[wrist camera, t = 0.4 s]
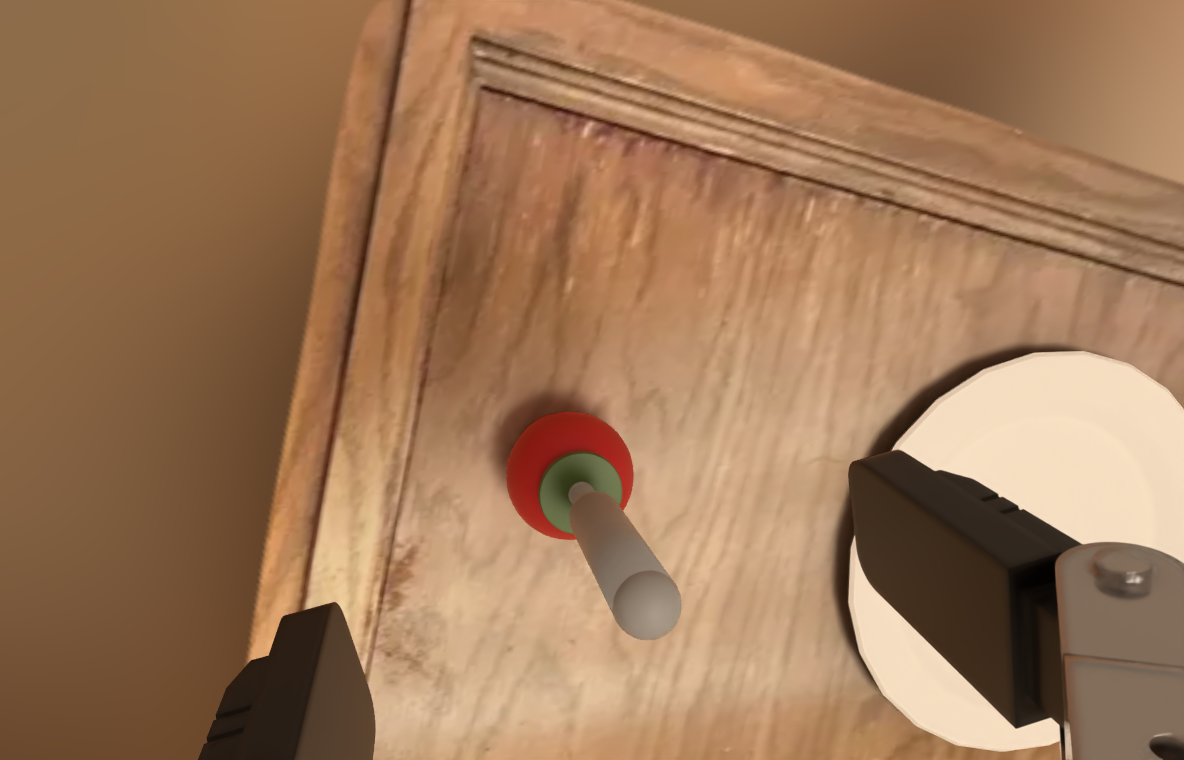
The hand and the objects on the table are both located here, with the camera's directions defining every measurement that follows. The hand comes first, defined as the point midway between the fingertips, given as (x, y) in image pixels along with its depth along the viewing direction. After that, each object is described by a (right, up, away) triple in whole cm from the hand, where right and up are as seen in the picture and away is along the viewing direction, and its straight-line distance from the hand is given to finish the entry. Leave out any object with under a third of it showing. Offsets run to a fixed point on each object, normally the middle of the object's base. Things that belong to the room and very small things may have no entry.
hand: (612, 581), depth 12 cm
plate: (+22, -5, +29) cm, 37 cm away
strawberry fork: (-2, 0, +24) cm, 24 cm away
